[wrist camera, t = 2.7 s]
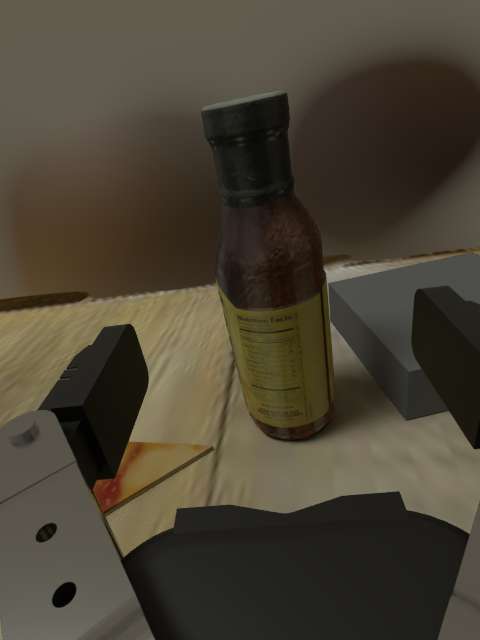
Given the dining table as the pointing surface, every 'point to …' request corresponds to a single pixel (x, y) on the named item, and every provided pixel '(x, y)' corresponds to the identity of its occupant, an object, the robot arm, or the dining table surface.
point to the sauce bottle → (270, 270)
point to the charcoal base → (398, 324)
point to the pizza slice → (144, 471)
